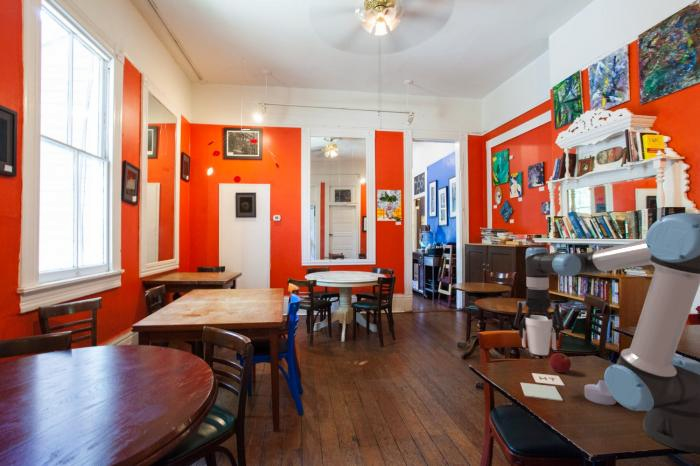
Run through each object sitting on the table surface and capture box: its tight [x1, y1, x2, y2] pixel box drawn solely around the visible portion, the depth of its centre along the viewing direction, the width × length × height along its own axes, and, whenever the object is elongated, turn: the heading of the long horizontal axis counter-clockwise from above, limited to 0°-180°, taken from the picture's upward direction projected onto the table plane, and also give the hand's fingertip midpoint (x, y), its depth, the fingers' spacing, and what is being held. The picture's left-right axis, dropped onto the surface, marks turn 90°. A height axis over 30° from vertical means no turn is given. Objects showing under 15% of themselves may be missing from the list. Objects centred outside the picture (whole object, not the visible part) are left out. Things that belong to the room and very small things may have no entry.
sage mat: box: [520, 382, 564, 402], centre depth 128 cm, size 12×12×1 cm
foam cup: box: [523, 314, 553, 356], centre depth 128 cm, size 10×9×13 cm
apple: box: [549, 352, 572, 374], centre depth 147 cm, size 8×8×8 cm
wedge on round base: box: [584, 379, 617, 406], centre depth 121 cm, size 9×7×13 cm
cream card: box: [531, 372, 565, 387], centre depth 139 cm, size 10×10×1 cm
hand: (538, 347), depth 128 cm, fingers closed on foam cup, 9 cm apart
